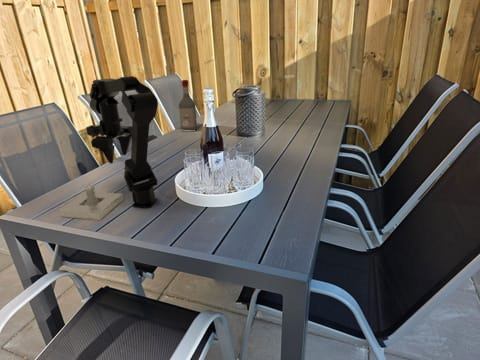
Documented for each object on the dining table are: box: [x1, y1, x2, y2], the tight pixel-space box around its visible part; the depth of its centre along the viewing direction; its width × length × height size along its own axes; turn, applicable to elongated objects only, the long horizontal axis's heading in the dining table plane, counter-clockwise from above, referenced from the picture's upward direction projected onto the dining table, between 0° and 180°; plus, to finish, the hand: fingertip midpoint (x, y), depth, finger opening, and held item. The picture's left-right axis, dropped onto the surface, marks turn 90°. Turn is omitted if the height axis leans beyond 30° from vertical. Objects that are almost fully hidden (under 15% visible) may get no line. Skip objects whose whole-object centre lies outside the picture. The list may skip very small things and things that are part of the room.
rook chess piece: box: [83, 184, 100, 206], centre depth 106 cm, size 4×4×8 cm
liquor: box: [178, 79, 198, 130], centre depth 194 cm, size 9×9×30 cm
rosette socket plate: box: [59, 191, 124, 221], centre depth 107 cm, size 14×14×2 cm
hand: (118, 158), depth 117 cm, fingers open, 9 cm apart
